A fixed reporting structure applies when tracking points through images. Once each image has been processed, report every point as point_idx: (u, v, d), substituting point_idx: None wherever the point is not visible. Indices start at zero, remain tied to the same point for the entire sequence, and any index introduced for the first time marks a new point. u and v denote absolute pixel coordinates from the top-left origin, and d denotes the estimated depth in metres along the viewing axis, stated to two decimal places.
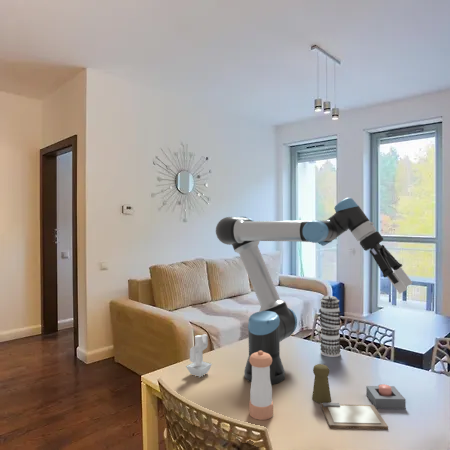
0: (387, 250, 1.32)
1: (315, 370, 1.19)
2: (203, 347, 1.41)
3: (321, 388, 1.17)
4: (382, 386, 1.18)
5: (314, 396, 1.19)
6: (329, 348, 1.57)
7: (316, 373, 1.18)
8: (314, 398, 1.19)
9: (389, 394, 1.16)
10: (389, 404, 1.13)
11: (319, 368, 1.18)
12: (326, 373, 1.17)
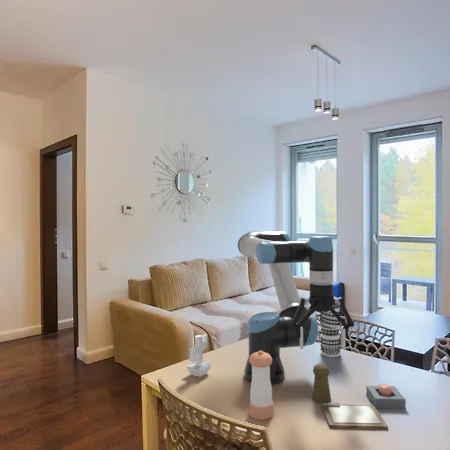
0: (344, 306, 1.18)
1: (315, 370, 1.19)
2: (203, 347, 1.41)
3: (321, 388, 1.17)
4: (382, 386, 1.18)
5: (314, 396, 1.19)
6: (329, 348, 1.57)
7: (316, 373, 1.18)
8: (314, 398, 1.19)
9: (389, 394, 1.16)
10: (389, 404, 1.13)
11: (319, 368, 1.18)
12: (326, 373, 1.17)
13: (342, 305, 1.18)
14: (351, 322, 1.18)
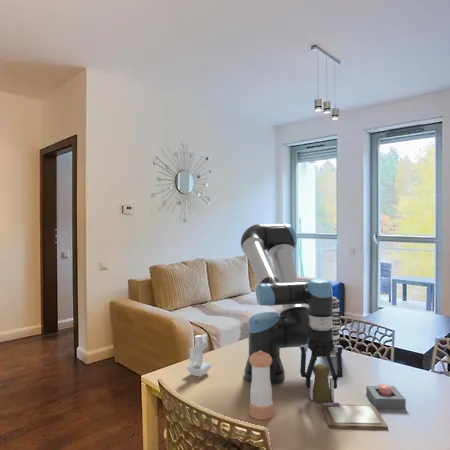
0: (340, 355, 1.18)
1: (315, 370, 1.19)
2: (203, 347, 1.41)
3: (321, 388, 1.17)
4: (382, 386, 1.18)
5: (314, 396, 1.19)
6: None
7: (316, 373, 1.18)
8: (314, 398, 1.19)
9: (389, 394, 1.16)
10: (389, 404, 1.13)
11: (319, 368, 1.18)
12: (326, 373, 1.17)
13: (339, 354, 1.18)
14: (341, 373, 1.18)
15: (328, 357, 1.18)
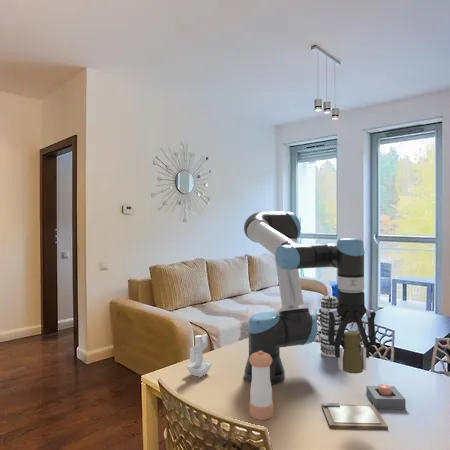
0: (373, 321, 1.07)
1: (345, 337, 1.07)
2: (203, 347, 1.41)
3: (353, 357, 1.06)
4: (382, 386, 1.18)
5: (344, 366, 1.07)
6: (329, 348, 1.57)
7: (346, 340, 1.07)
8: (344, 368, 1.07)
9: (389, 394, 1.16)
10: (389, 404, 1.13)
11: (350, 335, 1.07)
12: (358, 340, 1.06)
13: (372, 319, 1.07)
14: (374, 340, 1.07)
15: (360, 322, 1.06)
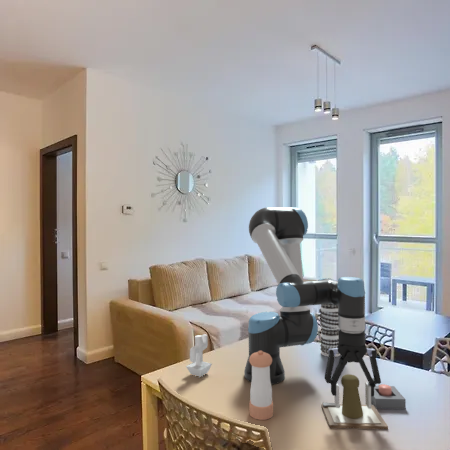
0: (375, 359, 1.07)
1: (343, 381, 1.07)
2: (203, 347, 1.41)
3: (352, 401, 1.06)
4: (382, 386, 1.18)
5: (344, 411, 1.07)
6: None
7: (344, 384, 1.07)
8: (344, 413, 1.07)
9: (389, 394, 1.16)
10: (389, 404, 1.13)
11: (348, 379, 1.07)
12: (356, 384, 1.06)
13: (373, 358, 1.07)
14: (378, 379, 1.07)
15: (362, 362, 1.06)
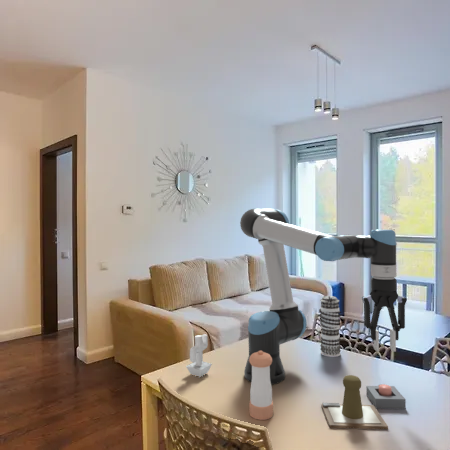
0: (403, 306, 1.16)
1: (345, 382, 1.07)
2: (203, 347, 1.41)
3: (353, 402, 1.06)
4: (382, 386, 1.18)
5: (344, 411, 1.07)
6: (329, 348, 1.57)
7: (346, 385, 1.07)
8: (344, 413, 1.07)
9: (389, 394, 1.16)
10: (389, 404, 1.13)
11: (350, 380, 1.07)
12: (358, 385, 1.06)
13: (403, 304, 1.16)
14: (403, 324, 1.16)
15: (392, 307, 1.15)
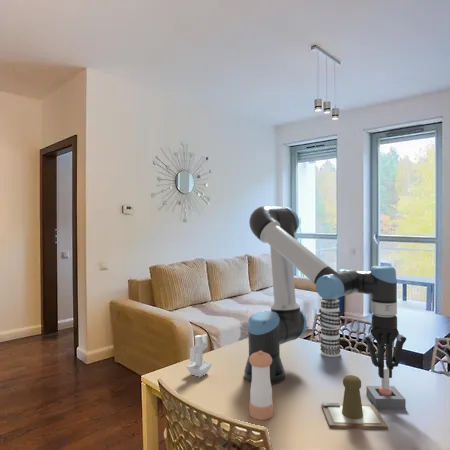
0: (402, 345, 1.16)
1: (345, 382, 1.07)
2: (203, 347, 1.41)
3: (353, 402, 1.06)
4: (382, 387, 1.18)
5: (344, 411, 1.07)
6: (329, 348, 1.57)
7: (346, 385, 1.07)
8: (344, 413, 1.07)
9: (389, 395, 1.16)
10: (389, 404, 1.13)
11: (350, 380, 1.07)
12: (358, 385, 1.06)
13: (401, 343, 1.16)
14: (397, 362, 1.16)
15: (390, 345, 1.15)
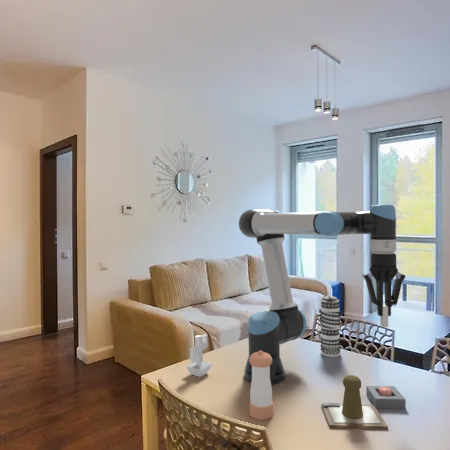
0: (401, 282, 1.16)
1: (345, 382, 1.07)
2: (203, 347, 1.41)
3: (353, 402, 1.06)
4: (382, 388, 1.18)
5: (344, 411, 1.07)
6: (329, 348, 1.57)
7: (346, 385, 1.07)
8: (344, 413, 1.07)
9: None
10: (389, 404, 1.13)
11: (350, 380, 1.07)
12: (358, 385, 1.06)
13: (400, 281, 1.16)
14: (396, 300, 1.16)
15: (389, 282, 1.15)
